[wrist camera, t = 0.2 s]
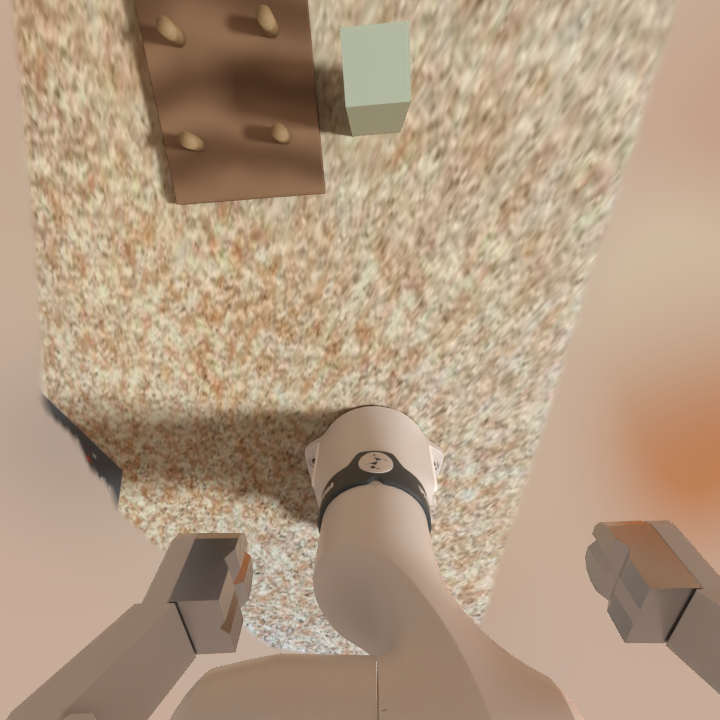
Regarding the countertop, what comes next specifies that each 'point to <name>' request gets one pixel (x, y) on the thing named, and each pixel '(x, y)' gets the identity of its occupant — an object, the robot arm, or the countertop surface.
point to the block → (376, 76)
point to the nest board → (235, 97)
